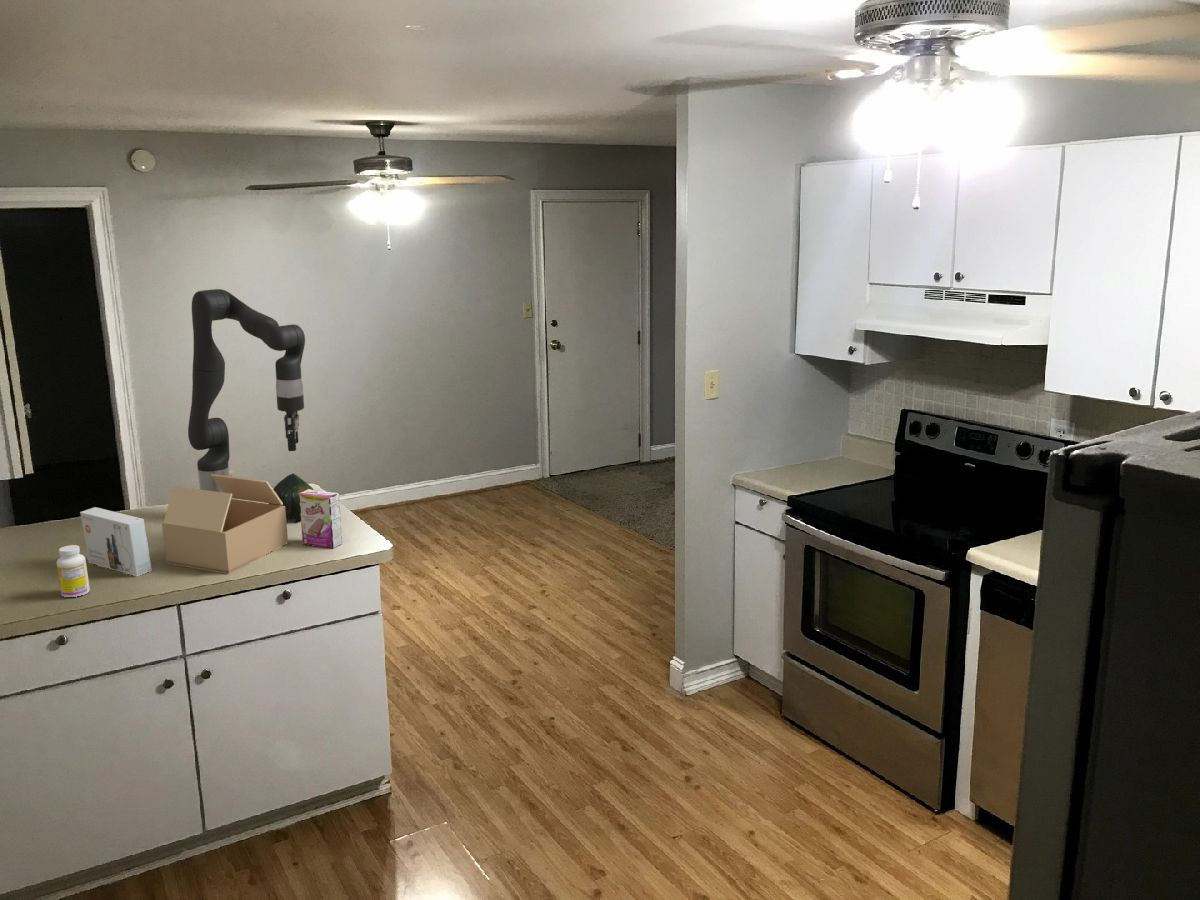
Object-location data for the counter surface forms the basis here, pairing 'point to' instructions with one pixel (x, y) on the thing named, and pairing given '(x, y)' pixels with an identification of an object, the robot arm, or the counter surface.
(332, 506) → the candy bar box
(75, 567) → the supplement bottle
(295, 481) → the squash
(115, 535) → the skincare box
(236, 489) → the back flap
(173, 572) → the counter surface
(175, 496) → the front flap
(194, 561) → the carton
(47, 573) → the counter surface
